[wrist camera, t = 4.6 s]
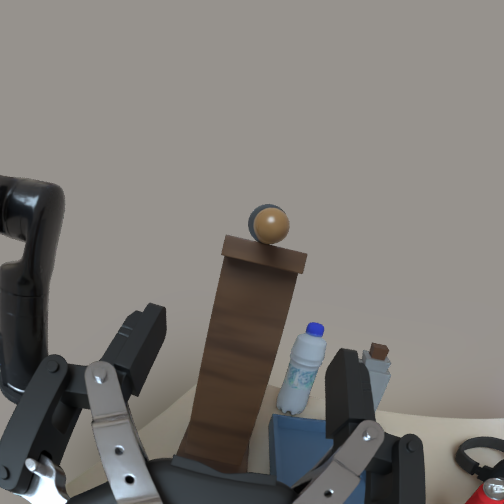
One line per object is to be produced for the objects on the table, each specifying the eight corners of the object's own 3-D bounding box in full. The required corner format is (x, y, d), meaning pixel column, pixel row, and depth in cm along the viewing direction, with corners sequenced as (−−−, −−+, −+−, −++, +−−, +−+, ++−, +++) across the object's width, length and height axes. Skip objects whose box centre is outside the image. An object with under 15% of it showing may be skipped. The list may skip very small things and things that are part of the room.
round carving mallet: (304, 247, 17) (311, 179, 17) (234, 238, 18) (243, 171, 17) (280, 246, 38) (284, 214, 38) (248, 242, 39) (252, 210, 38)
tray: (384, 527, 18) (396, 515, 18) (271, 534, 19) (279, 524, 19) (344, 433, 44) (350, 421, 44) (268, 425, 44) (272, 413, 44)
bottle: (282, 397, 56) (307, 316, 56) (308, 409, 52) (337, 325, 52) (267, 408, 51) (294, 320, 50) (295, 421, 47) (327, 331, 46)
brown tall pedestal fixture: (243, 486, 27) (317, 256, 26) (171, 469, 28) (215, 232, 27) (248, 431, 41) (298, 252, 40) (192, 418, 42) (230, 236, 41)
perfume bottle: (336, 425, 47) (367, 348, 47) (336, 409, 54) (362, 338, 53) (366, 429, 45) (399, 354, 45) (363, 414, 52) (391, 344, 51)
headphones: (520, 470, 14) (451, 436, 33) (498, 505, 13) (436, 466, 32) (547, 443, 16) (489, 422, 35) (531, 474, 15) (477, 449, 34)
